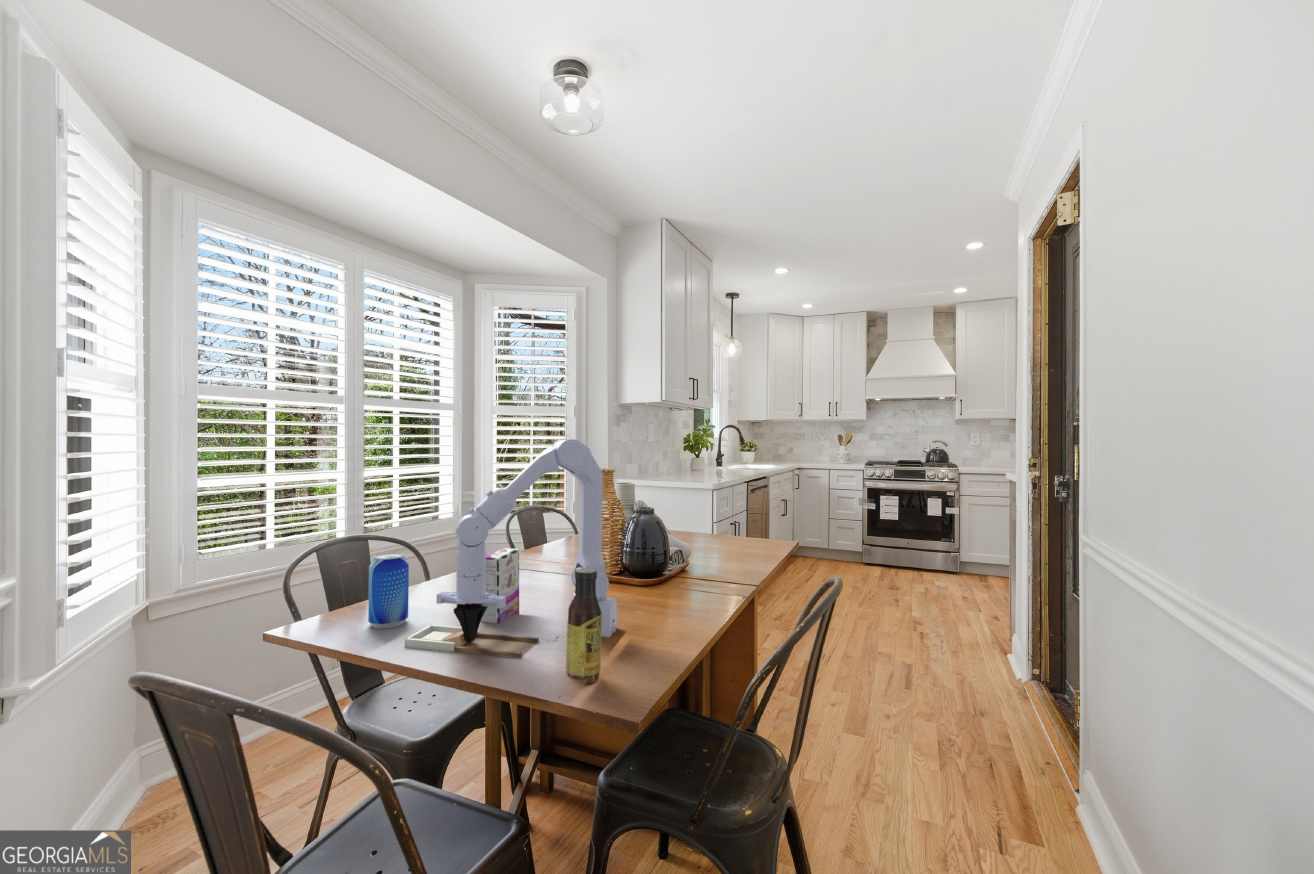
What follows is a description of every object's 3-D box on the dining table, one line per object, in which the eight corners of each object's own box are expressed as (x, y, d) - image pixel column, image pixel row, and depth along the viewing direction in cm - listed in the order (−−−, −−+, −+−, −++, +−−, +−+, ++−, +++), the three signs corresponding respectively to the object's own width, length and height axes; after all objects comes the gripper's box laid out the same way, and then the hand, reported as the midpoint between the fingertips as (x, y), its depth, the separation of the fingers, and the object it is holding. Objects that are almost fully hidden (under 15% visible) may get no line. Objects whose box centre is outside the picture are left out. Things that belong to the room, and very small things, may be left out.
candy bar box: (501, 613, 141) (501, 547, 141) (519, 614, 140) (520, 548, 140) (478, 628, 130) (479, 556, 130) (498, 629, 129) (499, 557, 129)
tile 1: (452, 642, 120) (452, 632, 120) (440, 650, 116) (440, 640, 116) (433, 640, 121) (433, 631, 121) (420, 648, 116) (420, 638, 116)
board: (538, 648, 118) (538, 637, 118) (519, 665, 109) (519, 653, 109) (477, 642, 121) (477, 631, 121) (453, 658, 112) (453, 647, 112)
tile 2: (473, 637, 119) (471, 628, 119) (462, 645, 114) (459, 635, 114) (455, 642, 120) (452, 633, 120) (443, 650, 115) (440, 641, 115)
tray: (477, 642, 121) (477, 628, 121) (453, 658, 112) (454, 643, 112) (430, 638, 123) (431, 624, 123) (404, 653, 114) (404, 638, 114)
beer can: (373, 632, 126) (374, 560, 126) (364, 622, 133) (365, 554, 133) (412, 625, 132) (413, 556, 132) (402, 615, 138) (403, 550, 138)
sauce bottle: (590, 689, 99) (591, 576, 99) (559, 683, 102) (560, 572, 102) (607, 675, 105) (608, 568, 105) (577, 669, 108) (578, 565, 108)
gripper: (427, 576, 114) (427, 643, 114) (494, 581, 111) (493, 650, 111) (447, 568, 121) (447, 632, 121) (510, 572, 118) (510, 637, 118)
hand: (470, 640), depth 116 cm, fingers closed
